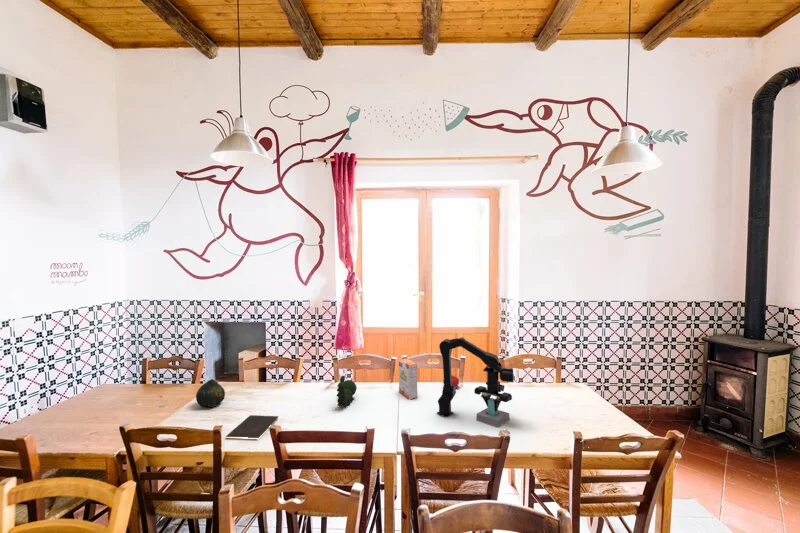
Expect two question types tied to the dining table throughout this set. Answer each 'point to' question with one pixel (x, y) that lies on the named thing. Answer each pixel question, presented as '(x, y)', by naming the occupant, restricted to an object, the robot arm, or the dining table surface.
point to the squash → (210, 394)
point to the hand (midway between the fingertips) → (492, 410)
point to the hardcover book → (253, 426)
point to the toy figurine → (345, 391)
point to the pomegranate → (454, 381)
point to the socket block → (492, 418)
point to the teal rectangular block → (492, 407)
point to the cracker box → (408, 378)
